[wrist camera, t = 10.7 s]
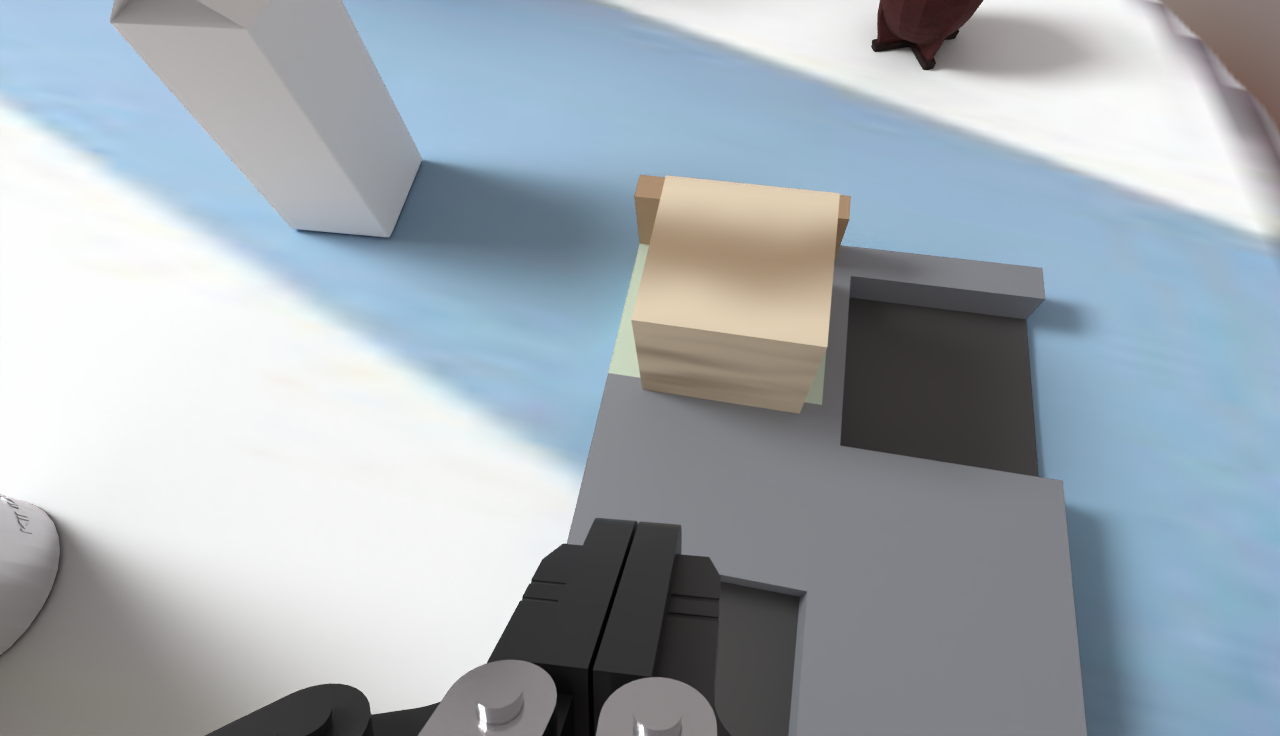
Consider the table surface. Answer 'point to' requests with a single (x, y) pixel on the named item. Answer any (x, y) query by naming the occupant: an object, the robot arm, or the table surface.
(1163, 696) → the table surface
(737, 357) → the beech block
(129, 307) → the table surface
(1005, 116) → the table surface
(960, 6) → the mate gourd
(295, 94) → the milk carton
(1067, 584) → the trap deck
